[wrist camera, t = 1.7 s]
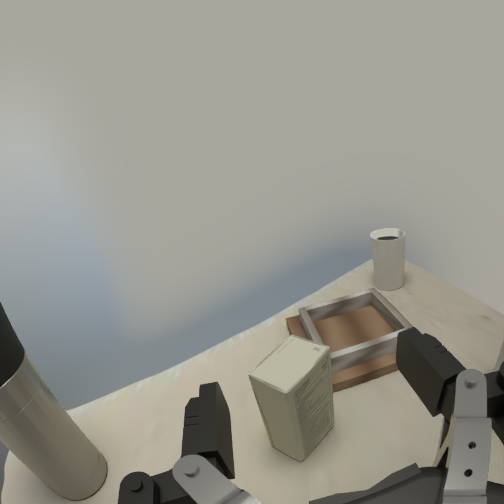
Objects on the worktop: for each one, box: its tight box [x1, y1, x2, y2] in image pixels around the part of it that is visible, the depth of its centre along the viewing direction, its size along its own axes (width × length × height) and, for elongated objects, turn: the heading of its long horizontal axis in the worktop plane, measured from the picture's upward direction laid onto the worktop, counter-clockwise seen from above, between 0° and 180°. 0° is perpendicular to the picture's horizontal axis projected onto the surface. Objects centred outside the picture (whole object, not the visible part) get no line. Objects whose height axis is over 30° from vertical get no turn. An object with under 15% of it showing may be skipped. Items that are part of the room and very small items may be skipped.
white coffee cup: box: [370, 228, 405, 291], centre depth 52 cm, size 7×7×10 cm
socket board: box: [286, 288, 413, 392], centre depth 41 cm, size 17×17×4 cm
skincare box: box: [248, 335, 334, 462], centre depth 26 cm, size 6×4×12 cm
